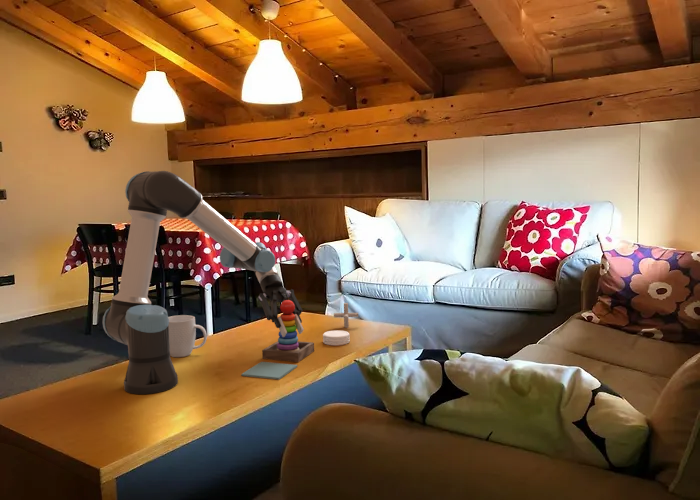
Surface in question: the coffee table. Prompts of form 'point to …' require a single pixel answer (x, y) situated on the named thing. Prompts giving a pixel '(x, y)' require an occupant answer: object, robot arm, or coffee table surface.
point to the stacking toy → (288, 328)
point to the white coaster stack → (336, 337)
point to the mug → (183, 335)
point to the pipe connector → (346, 315)
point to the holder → (288, 352)
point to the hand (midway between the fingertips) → (293, 333)
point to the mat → (269, 370)
